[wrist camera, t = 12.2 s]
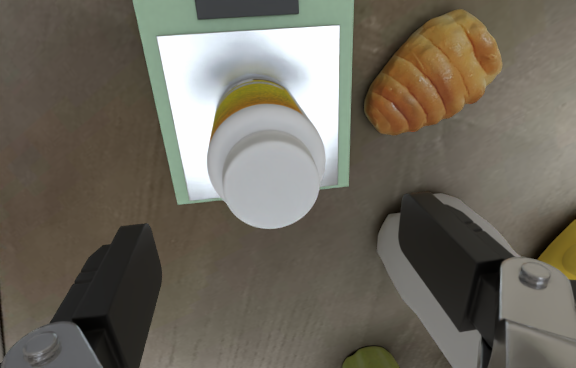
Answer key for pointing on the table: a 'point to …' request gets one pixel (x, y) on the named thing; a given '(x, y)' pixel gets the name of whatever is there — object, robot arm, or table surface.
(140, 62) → the table surface
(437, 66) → the pastry
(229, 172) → the supplement bottle
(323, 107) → the scale
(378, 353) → the plant pot
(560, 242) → the teapot
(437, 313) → the bottle
